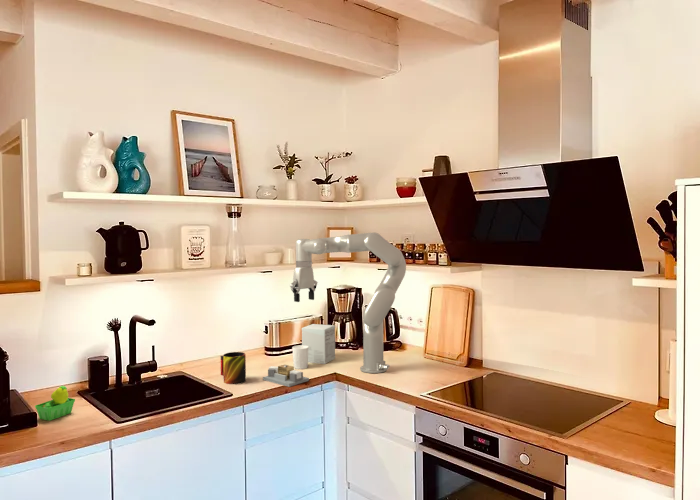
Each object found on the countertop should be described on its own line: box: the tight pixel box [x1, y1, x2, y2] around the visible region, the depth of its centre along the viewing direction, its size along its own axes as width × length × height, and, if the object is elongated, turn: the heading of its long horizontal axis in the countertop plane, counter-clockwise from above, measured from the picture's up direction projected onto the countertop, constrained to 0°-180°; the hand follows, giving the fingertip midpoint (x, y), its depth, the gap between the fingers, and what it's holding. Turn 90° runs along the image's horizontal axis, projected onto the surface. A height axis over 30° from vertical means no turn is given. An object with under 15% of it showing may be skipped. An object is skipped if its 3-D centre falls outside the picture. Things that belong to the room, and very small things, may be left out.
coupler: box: [277, 364, 295, 380], centre depth 237 cm, size 6×4×5 cm, turn 50°
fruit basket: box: [34, 385, 76, 422], centre depth 193 cm, size 11×9×11 cm
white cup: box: [291, 344, 309, 370], centre depth 260 cm, size 8×8×10 cm
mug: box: [220, 351, 247, 385], centre depth 237 cm, size 10×14×12 cm
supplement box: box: [301, 323, 336, 365], centre depth 274 cm, size 13×13×18 cm
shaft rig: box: [262, 365, 310, 388], centre depth 238 cm, size 18×12×5 cm
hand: (304, 300), depth 254 cm, fingers open, 9 cm apart
